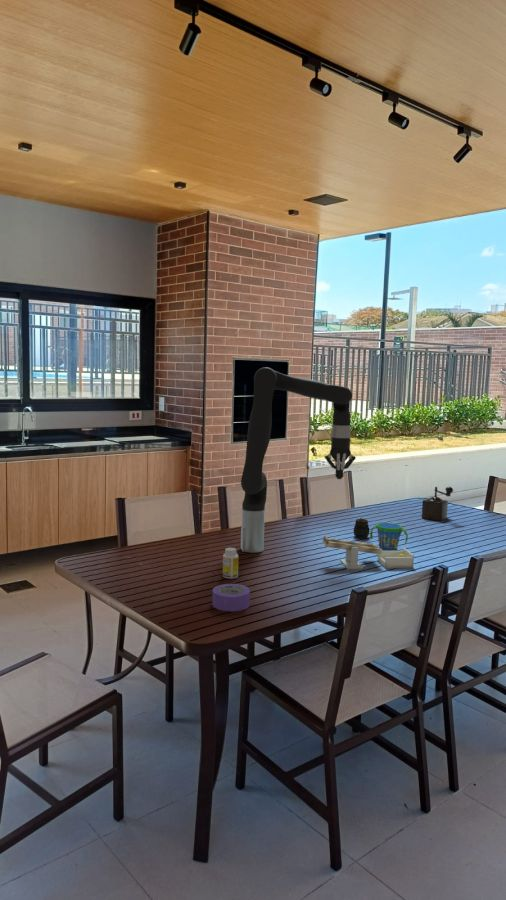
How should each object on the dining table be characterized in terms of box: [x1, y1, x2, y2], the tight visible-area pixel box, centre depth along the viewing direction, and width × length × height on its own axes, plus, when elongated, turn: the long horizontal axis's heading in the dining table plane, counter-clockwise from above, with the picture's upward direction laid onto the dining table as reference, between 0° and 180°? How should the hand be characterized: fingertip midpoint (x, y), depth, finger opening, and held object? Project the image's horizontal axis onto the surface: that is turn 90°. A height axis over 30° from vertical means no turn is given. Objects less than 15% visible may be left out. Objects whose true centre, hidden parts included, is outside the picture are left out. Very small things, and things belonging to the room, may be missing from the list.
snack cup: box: [369, 522, 409, 551], centre depth 273 cm, size 16×10×10 cm
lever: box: [322, 535, 383, 555], centre depth 252 cm, size 22×12×3 cm, turn 96°
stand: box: [339, 547, 364, 570], centre depth 249 cm, size 6×11×8 cm, turn 6°
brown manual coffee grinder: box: [421, 486, 454, 522], centre depth 335 cm, size 16×11×18 cm
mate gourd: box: [353, 517, 371, 539], centre depth 293 cm, size 7×8×10 cm
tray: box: [377, 547, 415, 569], centre depth 252 cm, size 11×10×5 cm
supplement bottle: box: [222, 547, 239, 580], centre depth 231 cm, size 6×6×10 cm
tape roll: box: [212, 583, 251, 612], centre depth 203 cm, size 12×12×5 cm
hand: (339, 478), depth 262 cm, fingers closed
